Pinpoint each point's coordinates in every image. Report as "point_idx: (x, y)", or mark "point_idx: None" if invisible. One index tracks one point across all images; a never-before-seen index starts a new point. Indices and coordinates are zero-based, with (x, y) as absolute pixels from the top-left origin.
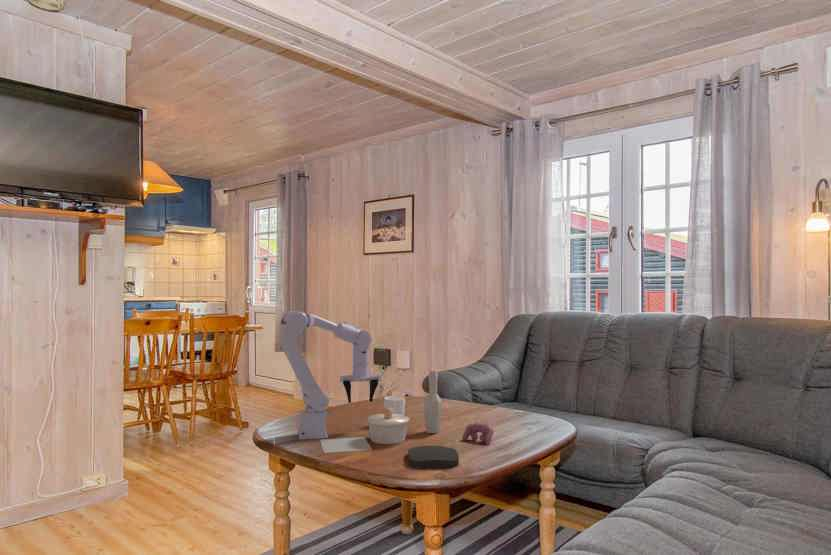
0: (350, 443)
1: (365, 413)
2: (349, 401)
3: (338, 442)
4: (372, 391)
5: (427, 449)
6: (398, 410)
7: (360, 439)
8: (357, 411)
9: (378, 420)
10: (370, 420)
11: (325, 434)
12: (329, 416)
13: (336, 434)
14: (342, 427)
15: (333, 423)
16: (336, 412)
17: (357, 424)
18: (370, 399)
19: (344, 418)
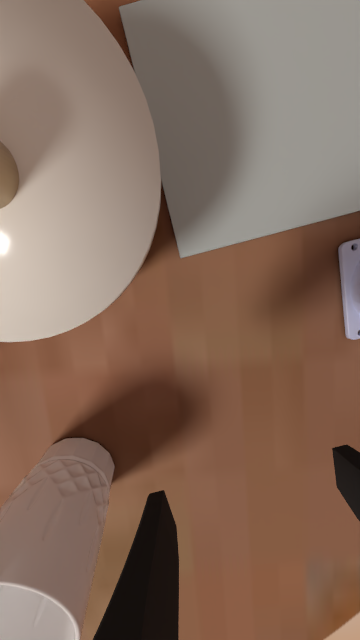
0: (237, 140)
1: (205, 595)
2: (353, 451)
3: (293, 158)
4: (127, 629)
5: None
6: (10, 506)
7: (195, 217)
8: (234, 614)
9: (51, 72)
10: (123, 72)
11: (355, 274)
12: (328, 551)
13: (301, 317)
14: (279, 419)
15: (314, 469)
16: (305, 596)
17: (224, 463)
18: (162, 510)
19: (275, 533)
